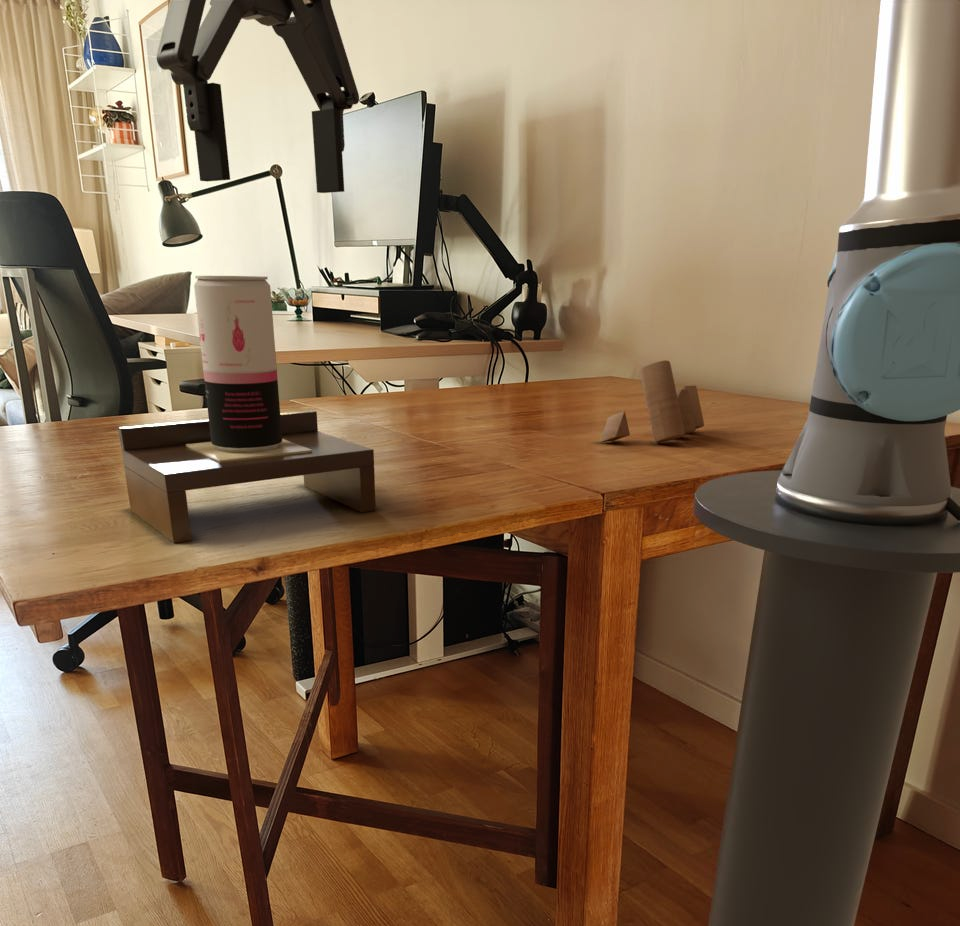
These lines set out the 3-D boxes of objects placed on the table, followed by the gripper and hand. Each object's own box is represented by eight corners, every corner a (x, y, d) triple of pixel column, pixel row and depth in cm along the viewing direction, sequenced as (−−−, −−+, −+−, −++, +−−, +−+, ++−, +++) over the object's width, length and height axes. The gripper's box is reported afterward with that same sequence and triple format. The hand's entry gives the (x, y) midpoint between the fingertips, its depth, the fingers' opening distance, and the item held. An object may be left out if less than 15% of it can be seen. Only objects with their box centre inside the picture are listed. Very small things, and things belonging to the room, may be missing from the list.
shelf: (376, 510, 85) (373, 428, 82) (173, 543, 74) (161, 450, 71) (317, 484, 95) (312, 410, 92) (130, 510, 84) (117, 427, 81)
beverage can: (288, 440, 85) (276, 276, 79) (274, 453, 79) (260, 277, 73) (222, 439, 85) (205, 275, 79) (203, 453, 79) (183, 276, 73)
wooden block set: (681, 445, 131) (667, 378, 130) (729, 429, 124) (715, 358, 123) (602, 455, 120) (586, 381, 119) (650, 438, 113) (634, 360, 112)
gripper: (326, -67, 78) (341, 197, 86) (73, -178, 58) (124, 177, 67) (391, -84, 74) (400, 194, 82) (144, -209, 55) (189, 171, 63)
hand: (277, 187), depth 74 cm, fingers open, 13 cm apart
